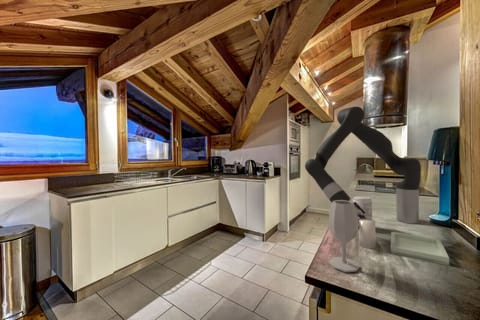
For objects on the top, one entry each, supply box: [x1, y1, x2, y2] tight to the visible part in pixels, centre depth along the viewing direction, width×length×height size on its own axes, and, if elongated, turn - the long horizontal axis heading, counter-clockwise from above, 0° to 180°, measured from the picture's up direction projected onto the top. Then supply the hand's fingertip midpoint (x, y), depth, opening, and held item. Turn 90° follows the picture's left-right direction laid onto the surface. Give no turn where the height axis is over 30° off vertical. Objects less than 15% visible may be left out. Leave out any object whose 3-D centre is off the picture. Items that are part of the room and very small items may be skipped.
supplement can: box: [351, 195, 373, 226], centre depth 99 cm, size 8×8×15 cm
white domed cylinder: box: [358, 218, 377, 250], centre depth 80 cm, size 6×6×10 cm
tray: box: [390, 231, 450, 267], centre depth 76 cm, size 17×15×2 cm
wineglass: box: [328, 200, 361, 273], centre depth 66 cm, size 9×9×21 cm
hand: (363, 227), depth 81 cm, fingers open, 8 cm apart
